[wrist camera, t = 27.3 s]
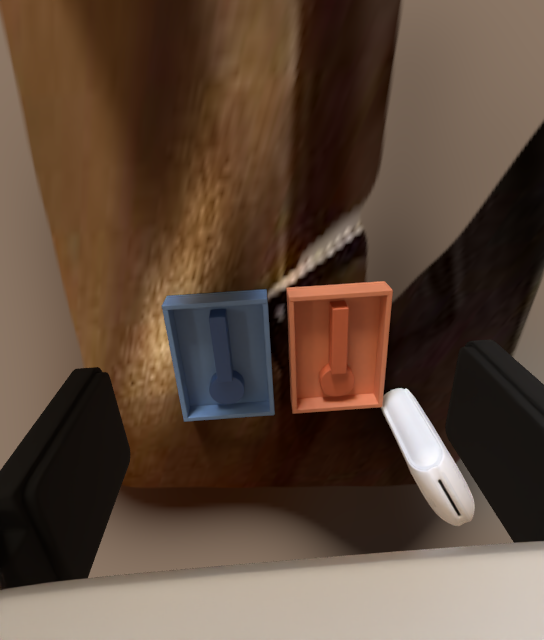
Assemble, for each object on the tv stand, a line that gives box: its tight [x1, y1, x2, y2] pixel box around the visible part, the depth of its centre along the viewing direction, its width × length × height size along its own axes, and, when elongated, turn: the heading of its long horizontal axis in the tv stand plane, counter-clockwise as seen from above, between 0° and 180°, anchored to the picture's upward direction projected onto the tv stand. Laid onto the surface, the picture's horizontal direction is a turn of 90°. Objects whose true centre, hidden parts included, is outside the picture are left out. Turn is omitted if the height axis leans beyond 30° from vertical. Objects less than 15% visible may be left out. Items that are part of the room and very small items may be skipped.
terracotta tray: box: [286, 281, 393, 414], centre depth 42 cm, size 14×10×2 cm
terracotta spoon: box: [319, 301, 355, 397], centre depth 41 cm, size 11×4×2 cm, turn 3°
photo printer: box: [381, 388, 475, 526], centre depth 42 cm, size 10×4×12 cm, turn 31°
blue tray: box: [162, 289, 275, 422], centre depth 41 cm, size 14×10×2 cm
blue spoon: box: [209, 309, 245, 405], centre depth 41 cm, size 11×4×2 cm, turn 3°
